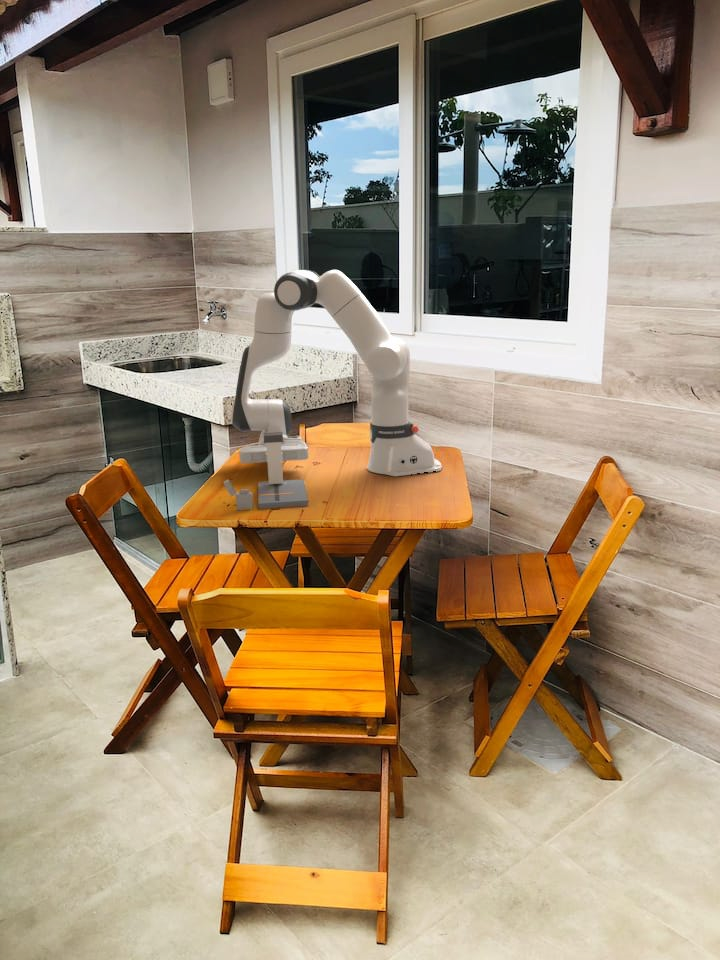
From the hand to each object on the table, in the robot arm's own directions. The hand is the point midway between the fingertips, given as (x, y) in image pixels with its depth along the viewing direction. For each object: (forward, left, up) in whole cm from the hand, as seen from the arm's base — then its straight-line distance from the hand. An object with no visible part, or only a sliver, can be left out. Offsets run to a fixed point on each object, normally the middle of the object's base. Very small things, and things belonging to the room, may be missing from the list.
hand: (274, 460), depth 226 cm
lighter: (+10, +21, -7) cm, 25 cm away
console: (-1, +12, -7) cm, 14 cm away
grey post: (0, +6, -5) cm, 7 cm away
